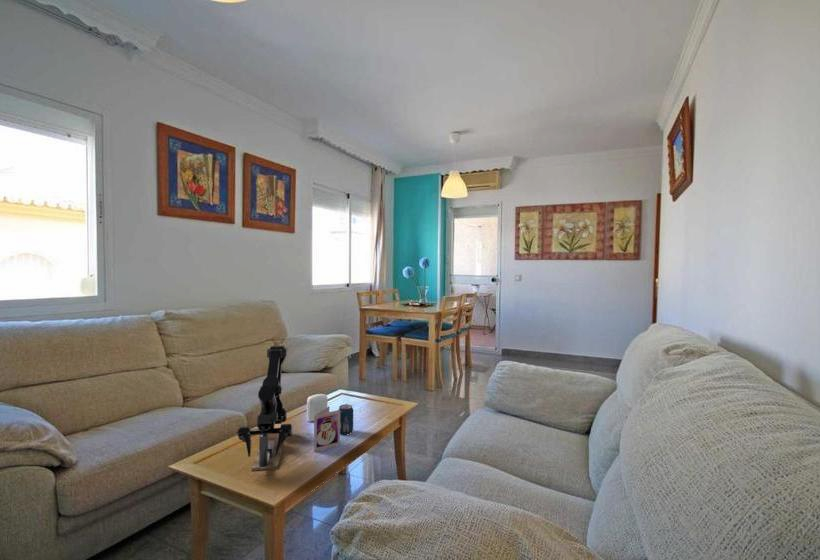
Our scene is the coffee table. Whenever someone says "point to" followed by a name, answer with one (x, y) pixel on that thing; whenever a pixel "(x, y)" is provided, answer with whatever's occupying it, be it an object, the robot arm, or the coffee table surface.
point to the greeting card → (326, 429)
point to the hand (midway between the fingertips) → (262, 455)
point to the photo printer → (315, 405)
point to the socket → (275, 436)
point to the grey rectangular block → (272, 446)
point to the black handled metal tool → (263, 451)
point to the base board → (271, 462)
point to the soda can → (346, 419)
